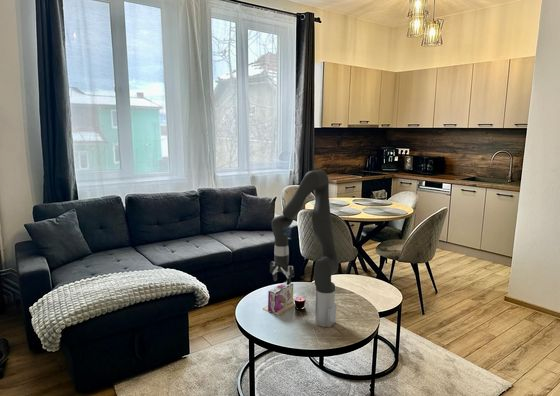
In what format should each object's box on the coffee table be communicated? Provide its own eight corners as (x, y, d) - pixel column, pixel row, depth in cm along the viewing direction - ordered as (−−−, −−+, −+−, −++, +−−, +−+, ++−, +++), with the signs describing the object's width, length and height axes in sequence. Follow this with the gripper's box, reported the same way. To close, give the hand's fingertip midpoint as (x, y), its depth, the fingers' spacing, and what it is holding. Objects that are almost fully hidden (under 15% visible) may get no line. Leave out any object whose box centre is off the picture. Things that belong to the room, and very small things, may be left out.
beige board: (301, 302, 209) (301, 301, 209) (281, 315, 194) (281, 314, 194) (283, 296, 216) (283, 295, 216) (262, 309, 201) (262, 308, 201)
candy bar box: (275, 293, 193) (293, 282, 206) (268, 290, 196) (286, 280, 209) (275, 313, 195) (293, 302, 208) (267, 310, 198) (285, 299, 211)
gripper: (296, 253, 197) (297, 283, 200) (275, 249, 206) (275, 277, 209) (288, 257, 192) (288, 288, 194) (266, 252, 200) (266, 282, 203)
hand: (281, 282), depth 201 cm, fingers open, 8 cm apart
